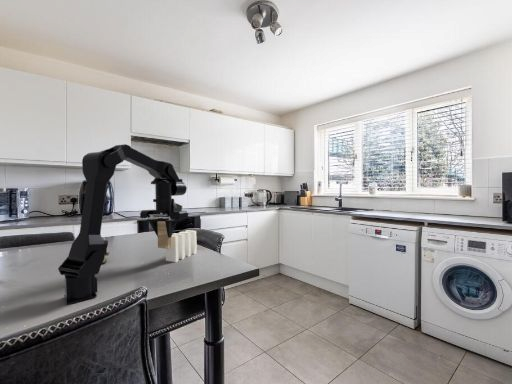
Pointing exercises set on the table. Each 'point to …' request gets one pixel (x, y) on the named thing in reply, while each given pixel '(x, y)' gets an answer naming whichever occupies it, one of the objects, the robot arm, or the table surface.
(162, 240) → the domino
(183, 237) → the domino
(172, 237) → the domino
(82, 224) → the robot arm
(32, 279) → the table surface
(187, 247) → the domino
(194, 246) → the domino
